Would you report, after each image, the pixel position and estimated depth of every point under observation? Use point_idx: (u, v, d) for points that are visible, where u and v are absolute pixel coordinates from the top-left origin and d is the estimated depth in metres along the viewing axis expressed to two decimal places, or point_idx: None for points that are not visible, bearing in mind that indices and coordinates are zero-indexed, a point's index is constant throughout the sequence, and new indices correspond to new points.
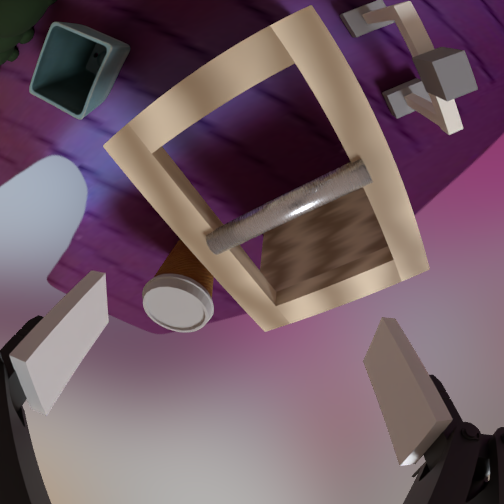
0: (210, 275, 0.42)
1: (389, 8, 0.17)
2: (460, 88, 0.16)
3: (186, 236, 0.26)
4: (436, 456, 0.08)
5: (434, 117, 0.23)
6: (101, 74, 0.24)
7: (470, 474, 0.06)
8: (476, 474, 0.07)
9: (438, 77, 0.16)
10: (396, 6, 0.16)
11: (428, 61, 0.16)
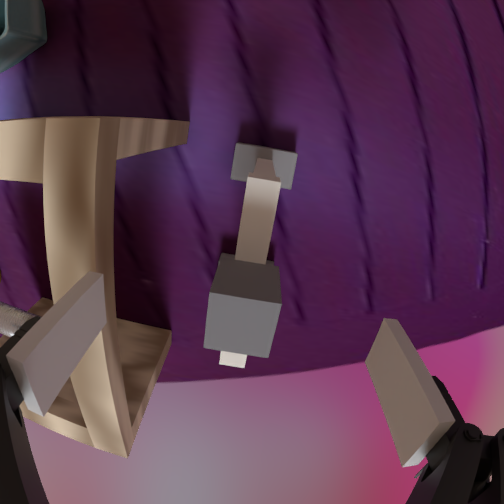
0: None
1: (248, 175, 0.16)
2: (236, 344, 0.14)
3: None
4: (438, 457, 0.08)
5: None
6: None
7: (472, 475, 0.05)
8: (478, 475, 0.07)
9: (208, 315, 0.13)
10: (252, 179, 0.15)
11: (212, 285, 0.14)
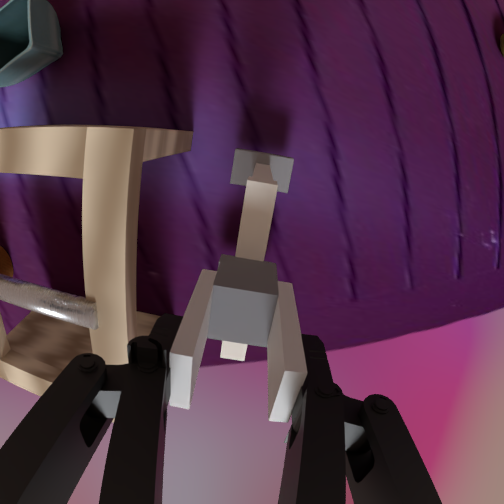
0: None
1: None
2: (237, 334, 0.15)
3: None
4: (298, 420, 0.09)
5: None
6: (12, 64, 0.19)
7: (341, 435, 0.07)
8: (348, 443, 0.09)
9: (211, 307, 0.15)
10: (251, 182, 0.16)
11: (215, 279, 0.15)
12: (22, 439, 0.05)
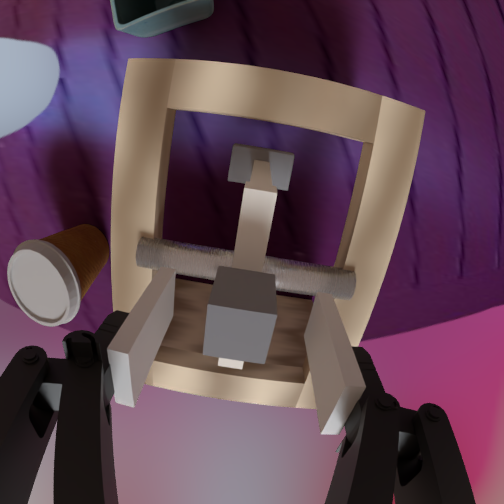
0: (91, 280, 0.31)
1: (245, 184, 0.16)
2: (234, 351, 0.14)
3: (119, 222, 0.19)
4: (354, 430, 0.09)
5: None
6: (175, 8, 0.20)
7: (394, 446, 0.07)
8: (401, 451, 0.08)
9: (206, 325, 0.14)
10: (248, 190, 0.15)
11: (210, 296, 0.14)
12: None
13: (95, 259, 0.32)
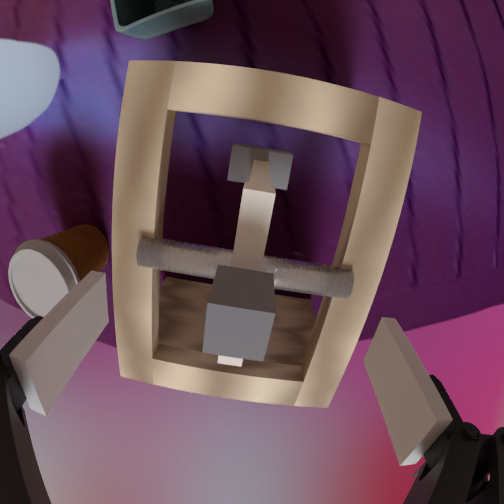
0: None
1: (244, 185, 0.16)
2: (233, 349, 0.15)
3: (120, 221, 0.19)
4: (436, 456, 0.08)
5: None
6: (175, 11, 0.20)
7: (470, 474, 0.06)
8: (476, 474, 0.07)
9: (206, 323, 0.14)
10: (247, 190, 0.15)
11: (210, 295, 0.14)
12: None
13: (95, 259, 0.32)
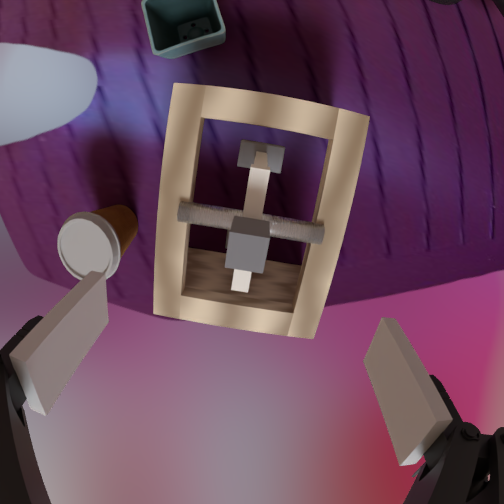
0: (126, 247, 0.41)
1: (251, 165, 0.26)
2: (244, 264, 0.24)
3: (165, 191, 0.29)
4: (436, 456, 0.08)
5: None
6: (198, 41, 0.30)
7: (470, 474, 0.06)
8: (476, 473, 0.07)
9: (228, 246, 0.24)
10: (253, 168, 0.25)
11: (231, 228, 0.24)
12: None
13: (129, 230, 0.42)
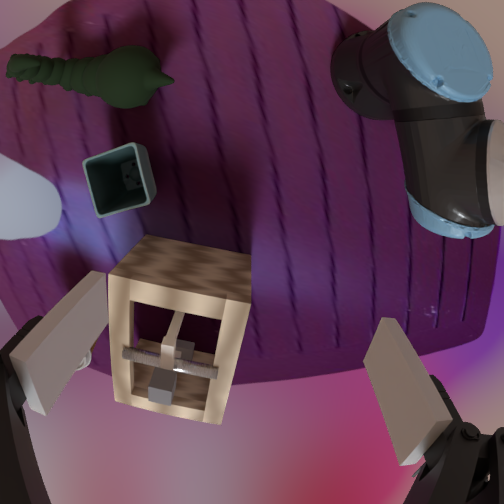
0: (95, 343, 0.52)
1: (163, 339, 0.38)
2: (159, 401, 0.36)
3: (113, 339, 0.40)
4: (436, 456, 0.08)
5: None
6: (130, 208, 0.41)
7: (470, 474, 0.06)
8: (476, 473, 0.07)
9: (148, 392, 0.35)
10: (163, 344, 0.37)
11: None
12: None
13: None
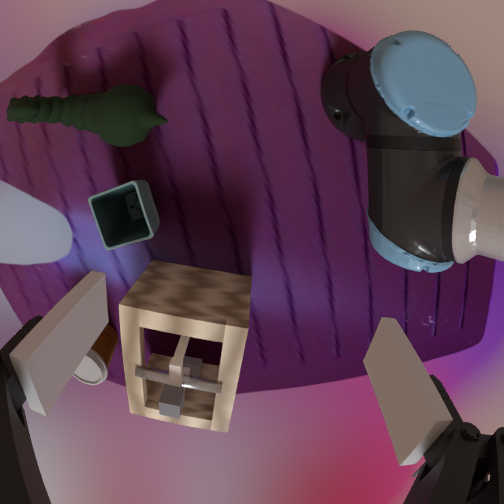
0: (110, 359, 0.57)
1: (171, 359, 0.42)
2: (169, 414, 0.40)
3: (126, 360, 0.44)
4: (436, 456, 0.08)
5: None
6: (135, 241, 0.45)
7: (470, 474, 0.06)
8: (476, 474, 0.07)
9: (159, 407, 0.39)
10: (171, 365, 0.41)
11: (160, 398, 0.39)
12: None
13: (111, 347, 0.58)
